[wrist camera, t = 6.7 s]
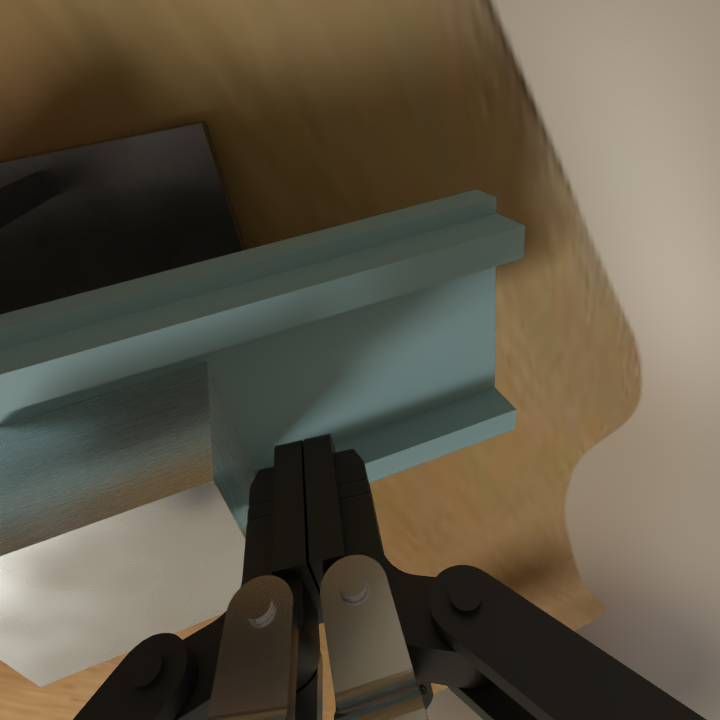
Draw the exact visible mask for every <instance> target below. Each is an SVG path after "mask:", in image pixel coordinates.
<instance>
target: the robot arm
mask: <svg viewBox="0 0 720 720" xmlns="http://www.w3.org/2000/svg"><path fill="white" fill-rule="evenodd" d="M248 506H249V509H248V515H247V521H248V524H247V527H246V539H245V551H244V563H243V575H242V583H241V587H240V589H239V590H238V591H237V592H236V593H235V594H234V596H233V597H232V599H231V601H230V603H229V605H228V608H227V611H226V612H225V613H224V614H223V615H222V616H220V617H219V618H218V619H217V620H215V621H214V622H212V623H211V624H209V625H207V626H206V627H204V628H202V629H200V630H199V631H197V632H195V633H194V634H192V635H190V636H189V637H187V638H185V639H183V640H182V639H181V638H180V637H178V636H177V635H175V634H172V633H159V634H156V635H153V636H150V637H148V638H147V639H145V640H143V641H142V642H140V643H139V644H138V645H137V646H135V647H134V648H133V649H132V650H131V651H130V652H129V654H128V655H127V656H126V657H125V658H124V659H123V661H122V662H121V663H120V664H119V665H118V667H117V668H116V669H115V670H114V671H113V672H112V674H111V675H110V676H109V677H108V678H107V680H106V681H105V682H104V683H103V684H102V686H101V687H100V688H99V689H98V690H97V692H96V693H95V694H94V695H93V696H92V697H91V699H90V700H89V701H88V702H87V703H86V705H85V706H84V707H83V708H82V709H81V711H80V712H79V713H78V714H77V715H76V717H75V718H74V719H73V720H322V711H323V662H322V655H321V652H320V639H319V624H320V623H324V625H325V632H326V639H327V646H328V653H329V660H330V666H331V673H332V680H333V687H334V694H335V702H336V712H335V714H334V720H428V718H427V714H426V711H425V707H424V704H423V700H422V697H421V694H420V690H419V687H418V684H417V681H423V682H429V683H435V684H441V685H447V686H448V688H449V689H450V690H451V691H452V692H453V693H455V694H456V695H457V696H458V697H459V698H460V699H461V700H462V701H464V703H466V704H467V705H468V706H469V707H470V708H471V709H472V710H473V711H475V712H476V713H477V714H478V715H479V716H480V717H481V718H482V719H483V720H706V719H704V718H703V717H701V716H700V715H698V714H697V713H695V712H694V711H692V710H691V709H689V708H688V707H686V706H685V705H684V704H682V703H681V702H679V701H677V700H676V699H675V698H673V697H671V696H670V695H668V694H667V693H666V692H664V691H662V690H661V689H660V688H658V687H657V686H655V685H654V684H652V683H651V682H649V681H647V680H646V679H645V678H643V677H642V676H640V675H638V674H637V673H636V672H634V671H633V670H631V669H630V668H628V667H627V666H625V665H623V664H622V663H621V662H619V661H618V660H616V659H614V658H613V657H612V656H610V655H608V654H607V653H606V652H604V651H602V650H601V649H600V648H598V647H597V646H595V645H593V644H592V643H591V642H589V641H588V640H586V639H585V638H583V637H582V636H580V635H579V634H577V633H575V632H574V631H573V630H571V629H570V628H568V627H567V626H565V625H564V624H562V623H561V622H559V621H558V620H556V619H555V618H553V617H552V616H550V615H549V614H547V613H546V612H544V611H543V610H541V609H540V608H538V607H537V606H535V605H534V604H532V603H531V602H529V601H528V600H526V599H525V598H523V597H522V596H520V595H519V594H517V593H516V592H514V591H513V590H511V589H510V588H508V587H507V586H505V585H504V584H502V583H501V582H499V581H498V580H496V579H495V578H493V577H492V576H490V575H489V574H487V573H486V572H484V571H482V570H480V569H478V568H476V567H473V566H468V565H457V566H453V567H449V568H447V569H445V570H443V571H442V572H441V573H439V574H438V576H437V577H428V576H419V575H412V574H408V573H405V572H403V571H401V570H399V569H397V568H396V567H394V566H393V565H392V564H391V563H390V562H389V561H388V560H387V558H386V557H385V555H384V551H383V546H382V541H381V536H380V531H379V527H378V522H377V517H376V512H375V507H374V502H373V497H372V493H371V489H370V485H369V480H368V476H367V472H366V468H365V463H364V461H363V459H362V458H361V457H360V456H359V455H358V454H357V452H356V451H355V450H354V449H349V450H345V451H340V452H336V450H335V446H334V443H333V439H332V436H331V434H325V435H321V436H317V437H312V438H308V439H304V441H303V440H299V441H295V442H291V443H286V444H282V445H277V446H275V449H274V467H270V468H266V469H261V470H259V471H258V473H257V475H256V476H255V478H254V480H253V482H252V484H251V486H250V490H249V503H248ZM416 680H417V681H416Z"/></svg>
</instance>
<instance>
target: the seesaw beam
mask: <svg viewBox="0 0 720 720" xmlns="http://www.w3.org/2000/svg"><path fill="white" fill-rule="evenodd" d="M524 244H525V225H523V224H521V223H519V222H516V221H514V220H512V219H509V218H507V217H505V216H502V215H500V214H498V213H497V197H496V196H493V195H491V194H488V193H485V192H483V191H480V190H477V189H475V190H471V191H468V192H464V193H460V194H456V195H452V196H449V197H445V198H441V199H437V200H434V201H430V202H426V203H422V204H418V205H415V206H411V207H407V208H403V209H399V210H396V211H392V212H388V213H384V214H380V215H377V216H373V217H369V218H365V219H361V220H358V221H354V222H350V223H346V224H342V225H339V226H335V227H331V228H327V229H323V230H320V231H316V232H312V233H308V234H304V235H301V236H297V237H293V238H289V239H285V240H282V241H278V242H274V243H270V244H266V245H263V246H259V247H255V248H251V249H247V250H244V251H240V252H236V253H232V254H228V255H225V256H221V257H217V258H213V259H209V260H206V261H202V262H198V263H194V264H190V265H187V266H183V267H179V268H175V269H172V270H168V271H164V272H160V273H156V274H153V275H149V276H145V277H141V278H137V279H134V280H130V281H126V282H122V283H118V284H115V285H111V286H107V287H103V288H99V289H96V290H92V291H88V292H84V293H80V294H77V295H73V296H69V297H65V298H61V299H58V300H54V301H50V302H46V303H42V304H39V305H35V306H31V307H27V308H23V309H20V310H16V311H12V312H8V313H4V314H1V315H0V426H2V425H5V424H9V423H12V422H15V421H18V420H21V419H25V418H28V417H31V416H34V415H37V414H41V413H44V412H47V411H50V410H53V409H57V408H60V407H63V406H66V405H69V404H73V403H76V402H79V401H82V400H85V399H88V398H92V397H95V396H98V395H101V394H104V393H108V392H111V391H114V390H117V389H120V388H124V387H127V386H130V385H133V384H136V383H140V382H143V381H146V380H149V379H152V378H156V377H159V376H162V375H165V374H168V373H172V372H175V371H178V370H181V369H184V368H188V367H191V366H194V365H197V364H200V363H204V362H207V363H208V365H209V367H210V369H211V372H212V374H213V376H214V378H215V381H216V383H217V385H218V387H219V389H220V392H221V394H222V396H223V398H224V401H225V403H226V405H227V407H228V409H229V412H230V414H231V416H232V418H233V421H234V423H235V425H236V427H237V429H238V432H239V434H240V436H241V438H242V440H243V443H244V445H245V447H246V449H247V452H248V454H249V456H250V458H251V460H252V463H253V466H254V472H255V476H256V475H257V473H258V471H259V470H261V469H266V468H270V467H274V449H275V446H277V445H282V444H286V443H291V442H295V441H299V440H303V441H304V439H308V438H312V437H317V436H321V435H325V434H331V436H332V439H333V443H334V446H335V450H336V452H340V451H345V450H349V449H354V450H355V451H356V452H357V454H358V455H359V456H360V457H361V458H362V459H363V461H364V463H365V468H366V472H367V476H368V480H369V483H370V482H373V481H376V480H378V479H381V478H384V477H386V476H389V475H392V474H395V473H397V472H400V471H403V470H405V469H408V468H411V467H414V466H416V465H419V464H422V463H424V462H427V461H430V460H433V459H435V458H438V457H441V456H443V455H446V454H449V453H452V452H454V451H457V450H460V449H462V448H465V447H468V446H471V445H473V444H476V443H479V442H481V441H484V440H487V439H490V438H492V437H495V436H498V435H500V434H503V433H506V432H509V431H511V430H514V429H515V428H516V409H515V408H514V407H513V406H512V405H511V404H510V403H509V402H508V400H507V399H506V398H505V397H504V396H503V395H502V394H501V393H500V392H499V391H498V390H497V389H496V388H495V387H494V383H495V299H496V267H497V266H500V265H503V264H507V263H510V262H513V261H517V260H520V259H523V258H524Z"/></svg>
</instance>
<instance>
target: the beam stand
mask: <svg viewBox="0 0 720 720" xmlns="http://www.w3.org/2000/svg"><path fill="white" fill-rule="evenodd" d="M244 250H246V248H245V245H244V242H243V238H242V235H241V232H240V229H239V226H238V223H237V220H236V216H235V213H234V210H233V207H232V204H231V201H230V197H229V194H228V191H227V188H226V185H225V182H224V179H223V175H222V172H221V169H220V166H219V163H218V160H217V157H216V153H215V150H214V147H213V144H212V141H211V138H210V134H209V131H208V128H207V125H206V122H205V121H200V122H195V123H190V124H185V125H180V126H175V127H170V128H165V129H160V130H155V131H150V132H145V133H140V134H135V135H130V136H125V137H120V138H115V139H110V140H105V141H100V142H95V143H90V144H85V145H80V146H75V147H70V148H65V149H60V150H55V151H50V152H45V153H40V154H35V155H30V156H25V157H20V158H15V159H10V160H5V161H0V315H1V314H4V313H8V312H12V311H16V310H20V309H23V308H27V307H31V306H35V305H39V304H42V303H46V302H50V301H54V300H58V299H61V298H65V297H69V296H73V295H77V294H80V293H84V292H88V291H92V290H96V289H99V288H103V287H107V286H111V285H115V284H118V283H122V282H126V281H130V280H134V279H137V278H141V277H145V276H149V275H153V274H156V273H160V272H164V271H168V270H172V269H175V268H179V267H183V266H187V265H190V264H194V263H198V262H202V261H206V260H209V259H213V258H217V257H221V256H225V255H228V254H232V253H236V252H240V251H244Z"/></svg>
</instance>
